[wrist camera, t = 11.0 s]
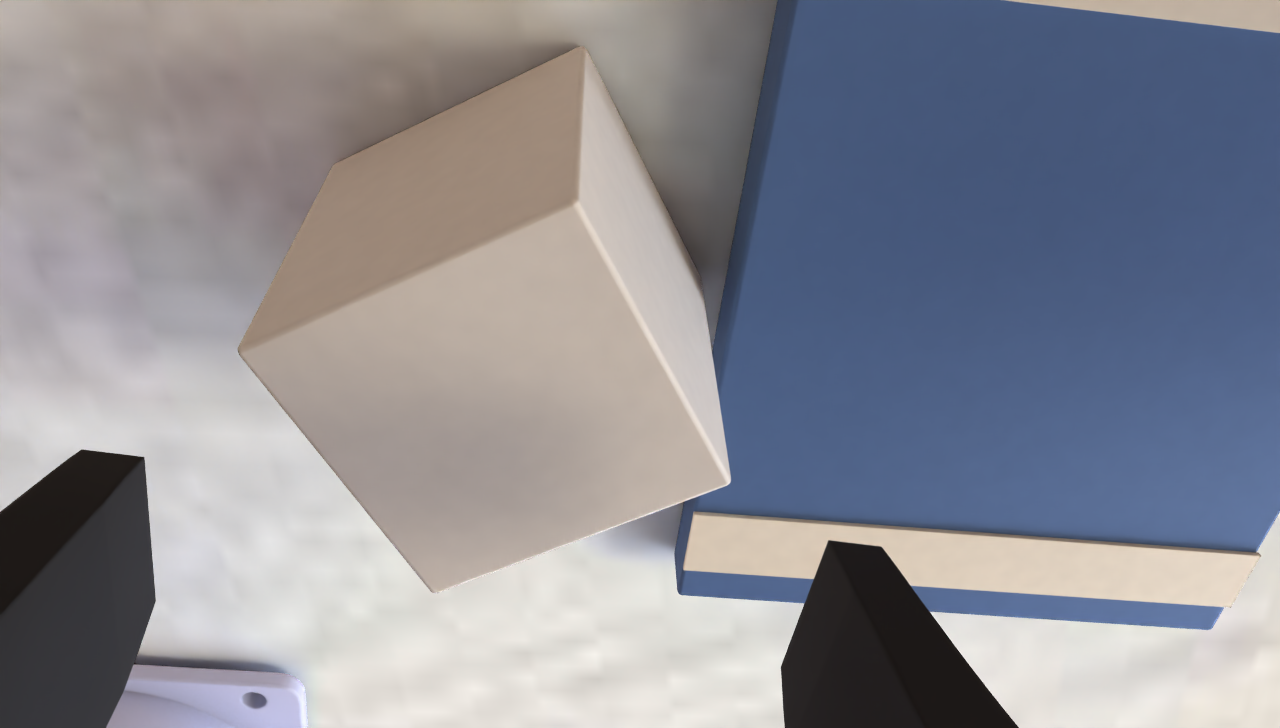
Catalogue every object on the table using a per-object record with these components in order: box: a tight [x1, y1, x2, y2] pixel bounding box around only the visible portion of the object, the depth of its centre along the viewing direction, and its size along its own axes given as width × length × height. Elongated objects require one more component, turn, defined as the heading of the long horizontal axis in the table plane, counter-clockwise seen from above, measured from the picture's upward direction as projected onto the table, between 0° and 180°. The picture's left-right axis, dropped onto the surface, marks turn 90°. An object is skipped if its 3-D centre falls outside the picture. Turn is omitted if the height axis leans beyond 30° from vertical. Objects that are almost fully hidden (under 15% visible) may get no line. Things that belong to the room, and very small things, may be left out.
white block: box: [238, 46, 731, 593], centre depth 16 cm, size 4×4×6 cm
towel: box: [675, 0, 1280, 630], centre depth 18 cm, size 11×14×1 cm
